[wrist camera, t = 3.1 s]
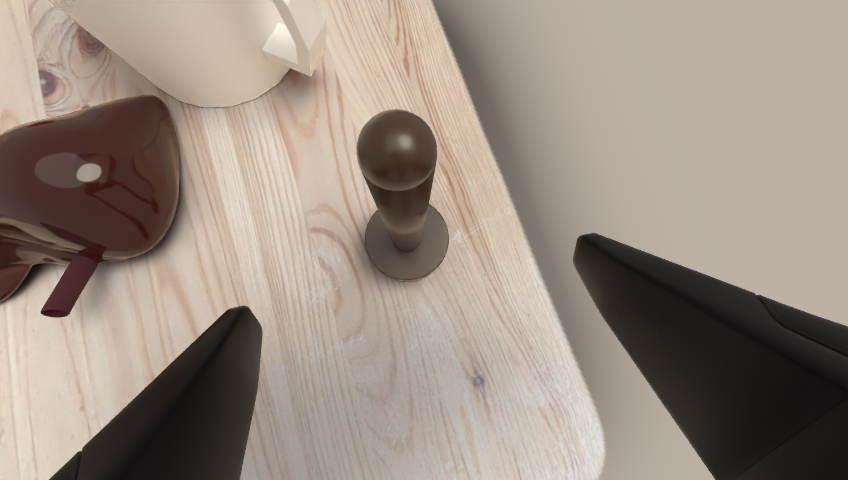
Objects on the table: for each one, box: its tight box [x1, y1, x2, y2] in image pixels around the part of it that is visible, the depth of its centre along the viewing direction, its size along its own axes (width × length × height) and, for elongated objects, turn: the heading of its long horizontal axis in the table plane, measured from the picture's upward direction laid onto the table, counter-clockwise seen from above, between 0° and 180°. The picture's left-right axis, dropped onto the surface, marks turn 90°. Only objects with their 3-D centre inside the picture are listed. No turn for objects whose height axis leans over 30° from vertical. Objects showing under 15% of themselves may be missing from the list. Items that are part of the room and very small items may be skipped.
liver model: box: [0, 95, 180, 317], centre depth 16 cm, size 6×12×11 cm
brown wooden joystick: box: [357, 110, 449, 281], centre depth 12 cm, size 4×4×13 cm
